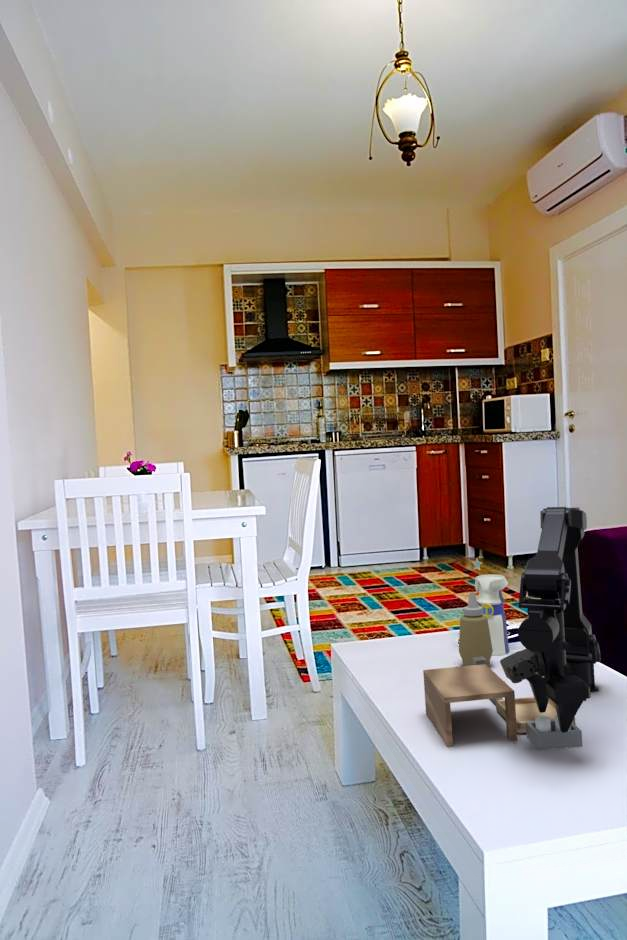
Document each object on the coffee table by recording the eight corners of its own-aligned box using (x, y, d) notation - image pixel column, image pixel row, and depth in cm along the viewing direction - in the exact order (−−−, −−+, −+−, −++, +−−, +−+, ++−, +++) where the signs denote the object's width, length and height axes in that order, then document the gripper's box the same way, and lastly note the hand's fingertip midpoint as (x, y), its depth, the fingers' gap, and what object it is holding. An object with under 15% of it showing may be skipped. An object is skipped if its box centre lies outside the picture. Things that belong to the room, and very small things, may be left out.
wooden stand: (488, 707, 141) (485, 664, 141) (517, 739, 125) (514, 691, 125) (425, 713, 140) (423, 670, 140) (447, 747, 124) (444, 697, 124)
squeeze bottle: (487, 673, 162) (483, 597, 161) (454, 669, 166) (450, 595, 165) (498, 662, 169) (493, 590, 168) (466, 659, 173) (461, 588, 172)
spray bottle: (505, 657, 172) (499, 558, 171) (473, 654, 177) (467, 557, 176) (515, 648, 179) (510, 553, 178) (483, 645, 184) (478, 552, 183)
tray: (569, 734, 126) (568, 710, 126) (582, 747, 121) (581, 722, 121) (526, 738, 126) (525, 714, 126) (537, 751, 120) (536, 726, 120)
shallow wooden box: (520, 679, 155) (518, 653, 155) (575, 727, 128) (573, 695, 128) (472, 684, 154) (471, 657, 154) (518, 733, 127) (516, 701, 127)
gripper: (486, 626, 132) (491, 707, 132) (524, 655, 113) (529, 748, 113) (542, 621, 132) (547, 701, 133) (589, 649, 114) (594, 741, 114)
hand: (552, 721), depth 123 cm, fingers open, 9 cm apart
